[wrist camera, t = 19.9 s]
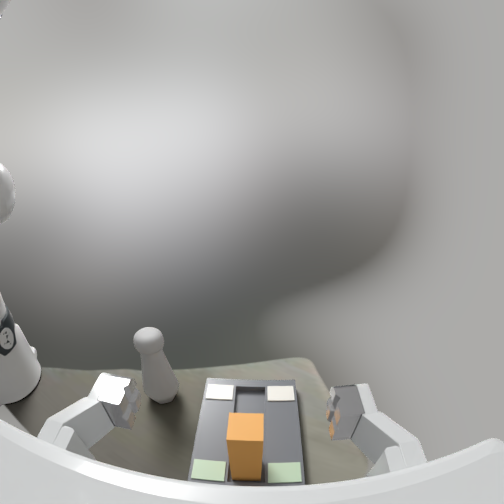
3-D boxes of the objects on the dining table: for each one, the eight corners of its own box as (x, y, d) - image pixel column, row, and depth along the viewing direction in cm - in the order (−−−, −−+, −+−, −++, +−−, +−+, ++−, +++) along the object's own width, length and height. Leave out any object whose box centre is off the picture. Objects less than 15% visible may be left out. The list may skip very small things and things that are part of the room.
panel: (188, 492, 27) (185, 487, 26) (208, 385, 45) (207, 377, 44) (303, 496, 26) (305, 491, 25) (293, 387, 45) (295, 379, 44)
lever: (232, 480, 28) (226, 439, 24) (233, 458, 31) (229, 412, 27) (260, 481, 28) (263, 440, 24) (260, 458, 31) (263, 413, 27)
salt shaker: (185, 403, 41) (171, 342, 36) (150, 411, 39) (129, 350, 34) (175, 379, 46) (162, 318, 41) (144, 386, 44) (125, 325, 39)
